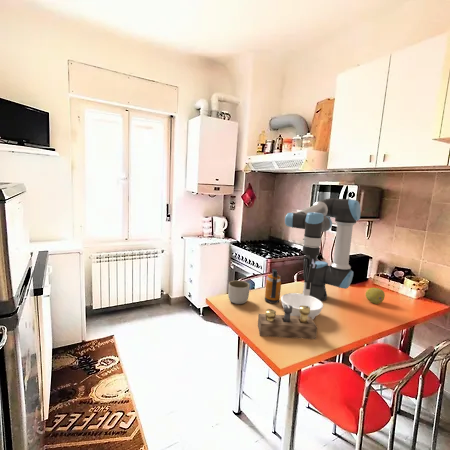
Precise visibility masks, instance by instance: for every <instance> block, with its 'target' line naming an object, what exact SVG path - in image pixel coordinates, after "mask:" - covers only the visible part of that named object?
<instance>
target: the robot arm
mask: <svg viewBox="0 0 450 450" xmlns="http://www.w3.org/2000/svg"><path fill="white" fill-rule="evenodd" d="M361 212H362V209H361V204H360V202H359V201H358V200H356V199H348V198H335V197H333V198H332V197H331V198H325V199H321V200H319V201H317V202H314V203H313V204H312V206H309V207H307V208H305V209H303V210H300V211H298V212H287V214H286V215H285V217H284V224H285V226H286V227H289V228H292V229H301V230H304V235H303V238H302V241H303V246H302V250H301V251H302V254H303V255H305V257H303V258H302V259H303V271H302V273H303V274H302V276H303V290H302V294H303V295H306V296H312V297H315V298H317V299H318V300H320V301H321V302H324V301H326V300H327V299H328V294H327V288H326V285H329V286H333V287H336V288H339V289H348V288H349V287H350V285H351V283H352V281H353V277H354V271H353V270H352V269H351V268H352V266H351V265H350V264H349V263H350V262H349V261H350V255H351V253H350V252H351V245H352V244H351V243H352V238H353V237H352V235H353V229H354V225H356V224H357V221H360V219H361V214H362V213H361ZM331 218H333V219H334V222H335V223H336V232H335V233H336V234H335V241H334V242H335V243H334V253H333V254H334V255H333V260H332V261H333V262H331V263H330V265H329V263H328V262H326V261H324V260H323V261H322V260H317V261H316V257H318V256H320V251H321V248H320V247H321V243H322V235H323V234H322V233H324V232H327V231H329V230H330V229H331V228H332V226H333V221H332V219H331Z"/></svg>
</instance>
